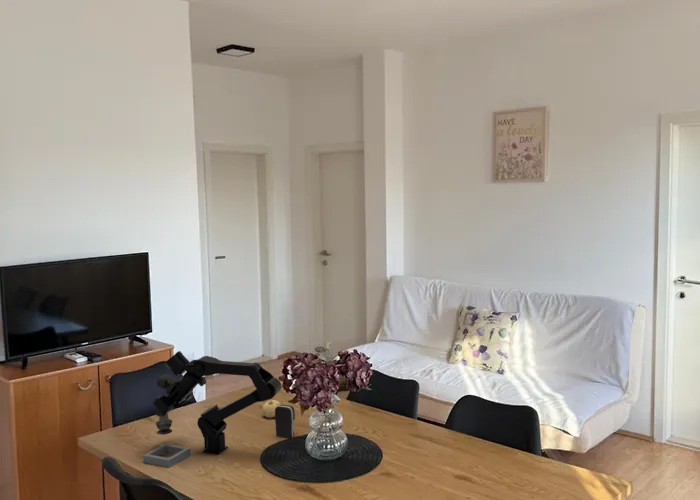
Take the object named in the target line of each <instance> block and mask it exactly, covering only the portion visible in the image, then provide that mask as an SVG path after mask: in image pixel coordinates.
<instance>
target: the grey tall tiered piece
mask: <svg viewBox="0 0 700 500" xmlns="http://www.w3.org/2000/svg"><path fill="white" fill-rule="evenodd" d="M158 417H159V418H158V420H157V421H155V426H156V428H157V429H158V430H157V431H156V434H157V435H163V436H164V435H168V434H171V433H172V432H173V430H172V429H171V427H172V423H173V420H172V419H169V413H167V414H166V415H164V414H163V415H160V416H158Z"/></svg>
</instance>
